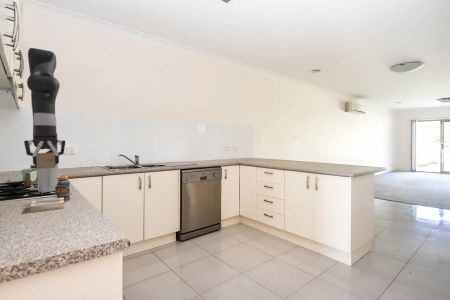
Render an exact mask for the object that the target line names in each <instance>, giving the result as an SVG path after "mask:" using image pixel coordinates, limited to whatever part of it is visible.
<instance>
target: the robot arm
mask: <svg viewBox="0 0 450 300" xmlns="http://www.w3.org/2000/svg"><path fill="white" fill-rule="evenodd" d="M27 58H28V59H27V60H28V68H29V76H28V78H27V80H26V86H27V88H28V90H29V91H30V98H31V101H30V102H31V110H32V139H30V140H24V141H23V144H24V148H25V152H26V156H31V157H32V165H35V166H37V159H36V154H37V153H40V150H48V151H46V152H45V153H55V168H43V169H37V172H38V181H37V191H38V192H39V193H48V192H49V193H50V192H55V182H57V181H58V180H57V177H59V163H60V156H61V155H64V154H65V148H66V147H65V146H66V140H60V139H58V133H57V118H56V99H57V97H58V94H59V90H60V85H61V84H60V82H59V80H58V79H57V78H56V77H55V76H54V73H55V71H56V68H57V56H56V54H55V52H54V51H51V50H46V49H41V48H35V47H30V48H28V51H27ZM58 143H59V144H58ZM32 145H33V146H34V147H35V150H34V151H33V152H32V151H31V146H32ZM58 145H60V147H61V148H60V151H58Z"/></svg>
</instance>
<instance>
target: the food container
mask: <svg viewBox="0 0 450 300" xmlns="http://www.w3.org/2000/svg"><path fill="white" fill-rule="evenodd" d="M20 173H21V174H22V180H23V182H22V183H23V186H24V187H33V186H34V185H33V184H35V185H37V184H38V181H37V168H31V167H29V168H23V169H21V171H20ZM36 183H37V184H36Z"/></svg>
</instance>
